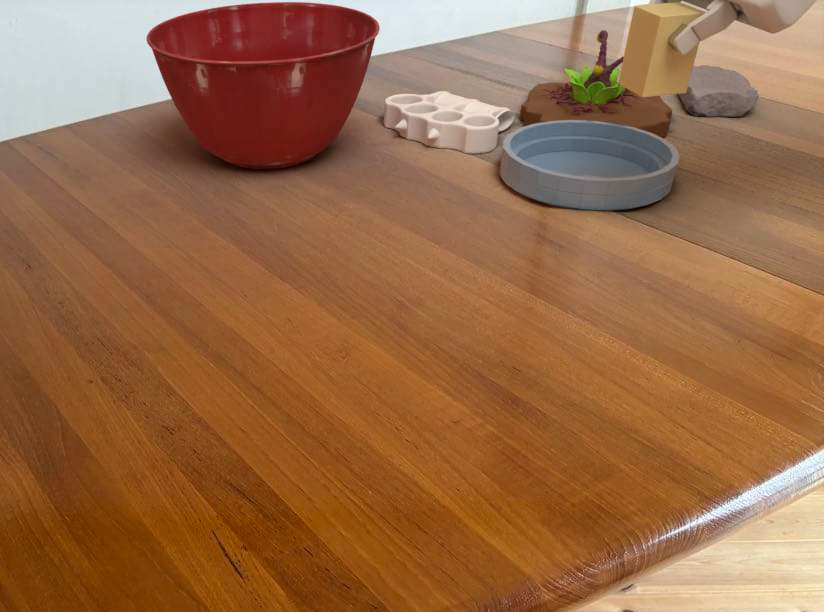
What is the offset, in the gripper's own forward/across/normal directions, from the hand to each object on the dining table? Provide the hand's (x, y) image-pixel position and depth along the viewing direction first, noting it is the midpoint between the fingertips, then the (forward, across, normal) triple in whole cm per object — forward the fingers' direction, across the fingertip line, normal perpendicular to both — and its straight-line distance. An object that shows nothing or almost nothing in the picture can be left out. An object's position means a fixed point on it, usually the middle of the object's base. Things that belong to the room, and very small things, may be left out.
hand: (656, 40), depth 76 cm
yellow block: (+3, 0, -4) cm, 4 cm away
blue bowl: (+11, +14, -16) cm, 24 cm away
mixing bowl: (+36, +34, +8) cm, 50 cm away
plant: (+3, +34, -24) cm, 42 cm away
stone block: (-11, +34, -38) cm, 53 cm away
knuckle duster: (+18, +34, -9) cm, 40 cm away
